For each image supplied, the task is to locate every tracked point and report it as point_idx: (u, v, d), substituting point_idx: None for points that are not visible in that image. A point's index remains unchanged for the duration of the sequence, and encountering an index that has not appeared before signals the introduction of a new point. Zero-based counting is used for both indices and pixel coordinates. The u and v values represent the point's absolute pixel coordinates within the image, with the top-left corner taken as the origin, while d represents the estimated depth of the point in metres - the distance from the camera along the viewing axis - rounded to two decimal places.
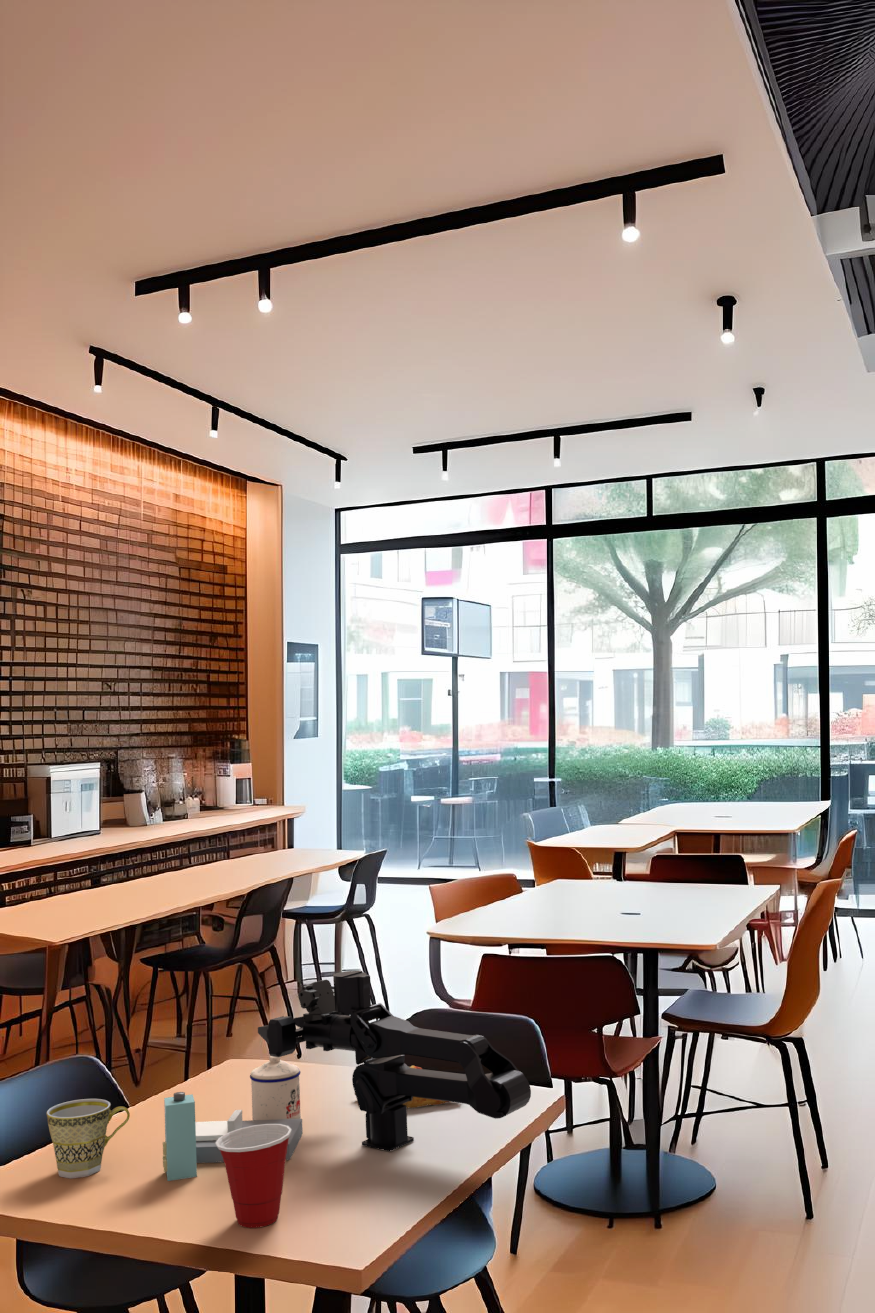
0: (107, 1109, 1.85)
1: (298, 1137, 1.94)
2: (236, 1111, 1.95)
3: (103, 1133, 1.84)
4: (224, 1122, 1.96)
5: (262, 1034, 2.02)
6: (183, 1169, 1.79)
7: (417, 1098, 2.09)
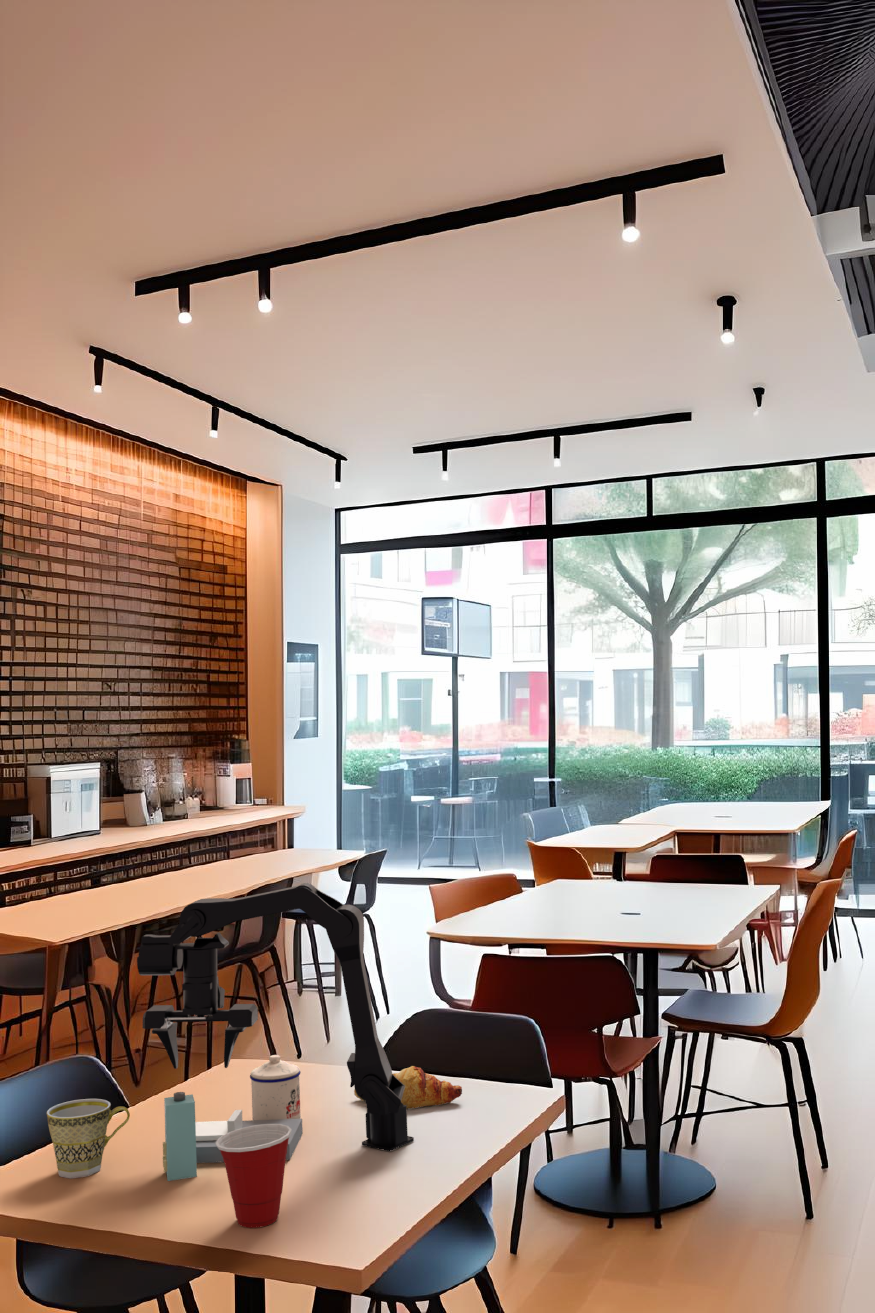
0: (107, 1109, 1.85)
1: (298, 1137, 1.94)
2: (236, 1111, 1.95)
3: (103, 1133, 1.84)
4: (224, 1122, 1.96)
5: None
6: (183, 1169, 1.79)
7: (416, 1099, 2.09)
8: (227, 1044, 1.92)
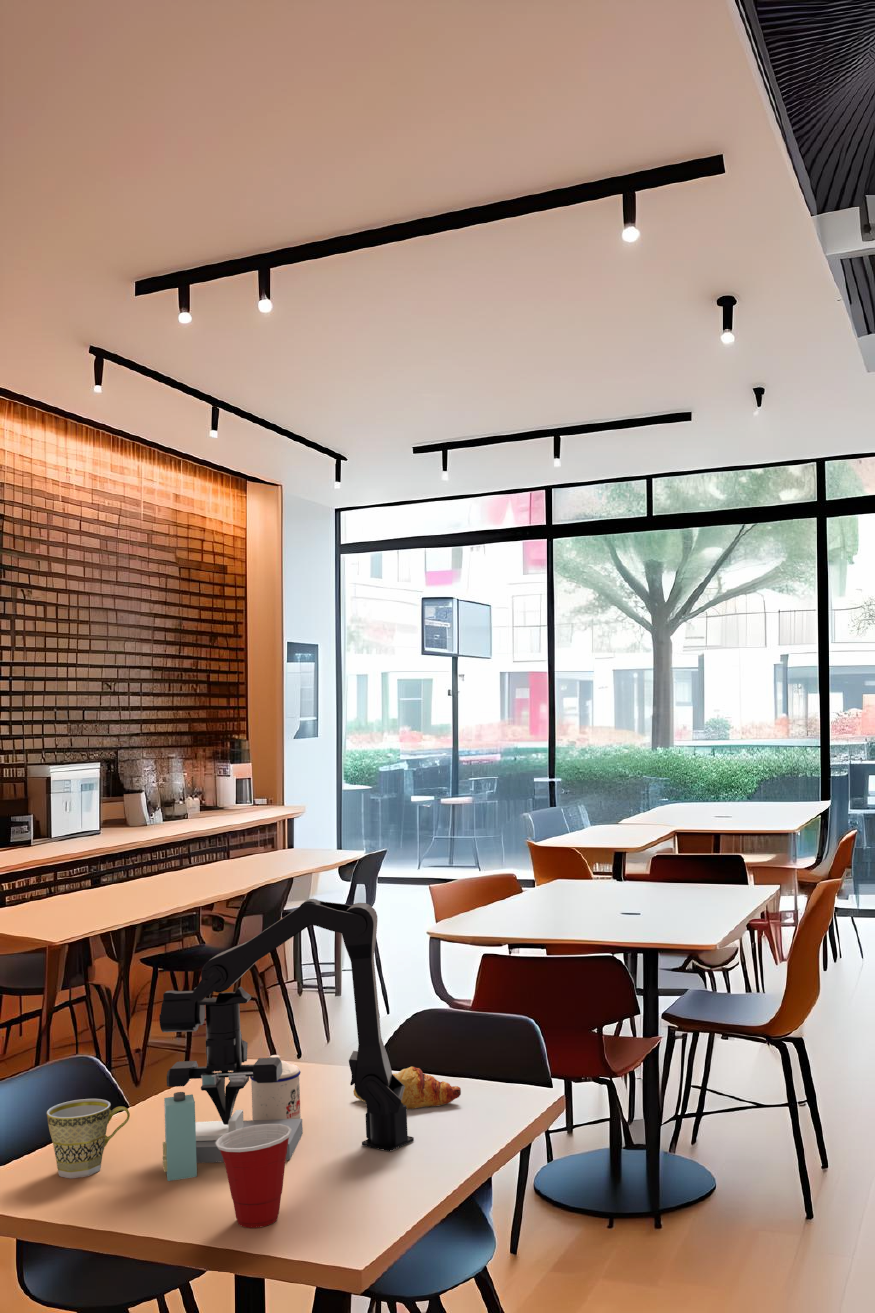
0: (107, 1109, 1.85)
1: (298, 1137, 1.94)
2: (237, 1111, 1.95)
3: (103, 1133, 1.84)
4: None
5: None
6: (183, 1169, 1.79)
7: (415, 1099, 2.09)
8: (228, 1101, 1.91)
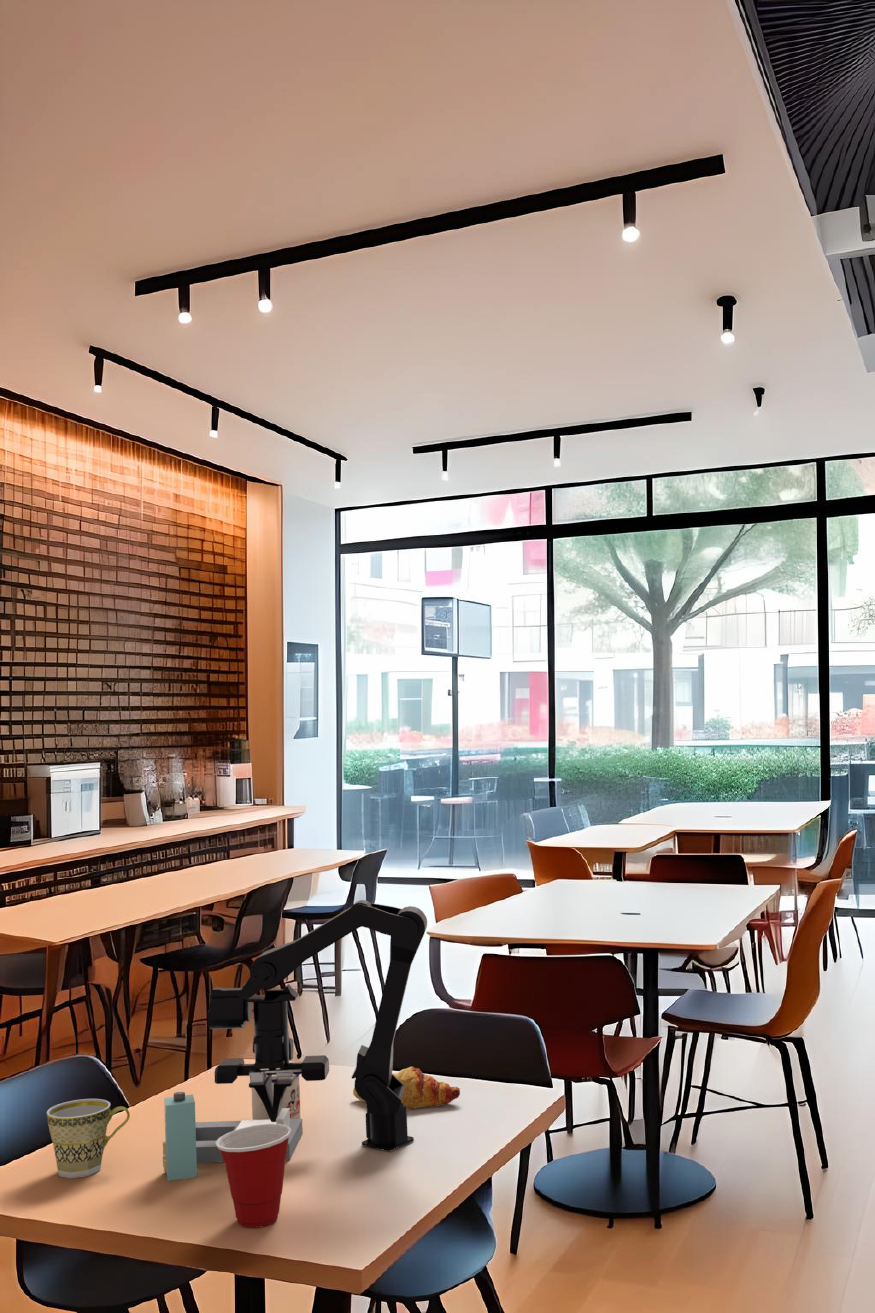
0: (107, 1109, 1.85)
1: (298, 1137, 1.94)
2: (284, 1109, 1.95)
3: (103, 1133, 1.84)
4: None
5: None
6: (183, 1169, 1.79)
7: (413, 1099, 2.09)
8: (276, 1098, 1.91)
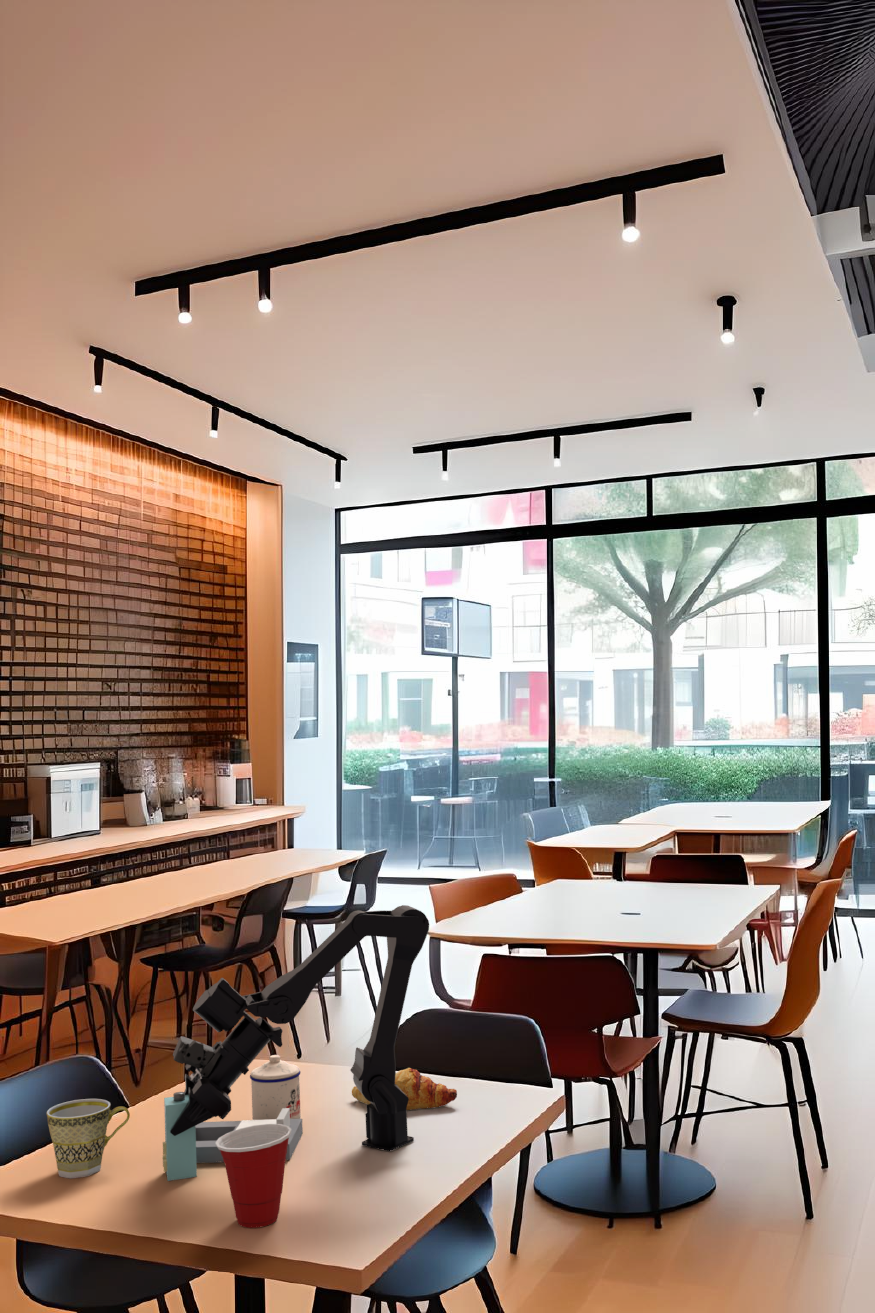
0: (107, 1109, 1.85)
1: (298, 1137, 1.94)
2: (284, 1109, 1.95)
3: (103, 1133, 1.84)
4: (271, 1120, 1.96)
5: (182, 1128, 1.79)
6: (183, 1169, 1.79)
7: (410, 1101, 2.08)
8: None
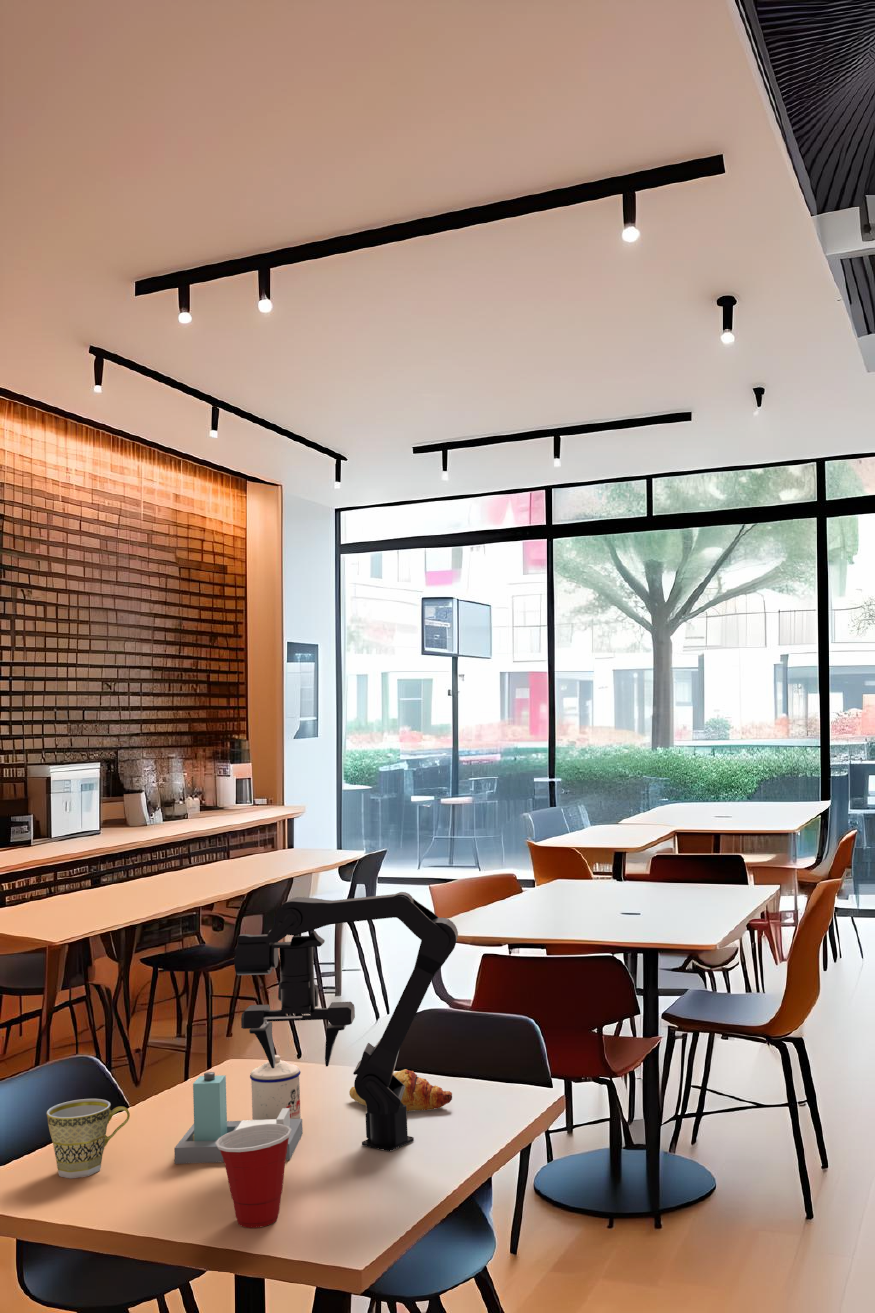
0: (107, 1109, 1.85)
1: (298, 1137, 1.94)
2: (284, 1109, 1.95)
3: (103, 1133, 1.84)
4: (271, 1120, 1.96)
5: None
6: None
7: (404, 1103, 2.07)
8: (328, 1042, 1.91)
